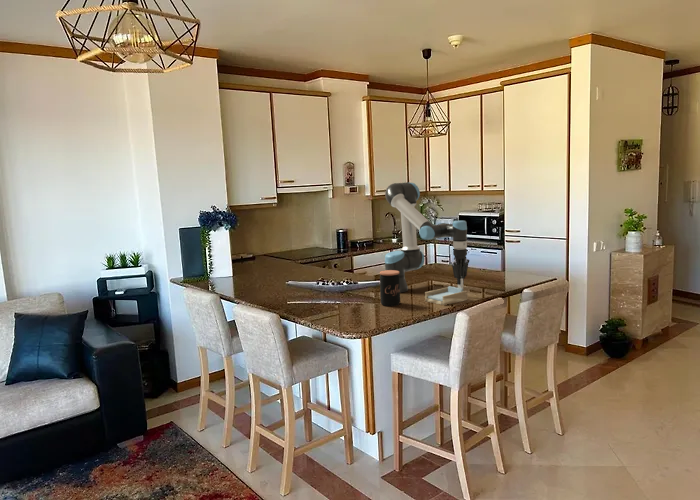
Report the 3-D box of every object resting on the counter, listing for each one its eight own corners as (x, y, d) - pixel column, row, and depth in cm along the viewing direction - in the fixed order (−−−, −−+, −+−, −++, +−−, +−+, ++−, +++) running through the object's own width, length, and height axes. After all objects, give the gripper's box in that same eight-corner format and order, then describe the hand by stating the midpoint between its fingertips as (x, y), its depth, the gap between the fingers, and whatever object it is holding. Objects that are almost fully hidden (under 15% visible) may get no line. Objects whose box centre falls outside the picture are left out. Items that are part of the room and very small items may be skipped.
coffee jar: (384, 307, 286) (383, 274, 283) (378, 303, 296) (377, 271, 293) (403, 305, 289) (402, 272, 286) (396, 301, 299) (395, 269, 296)
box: (425, 301, 296) (425, 292, 295) (448, 295, 306) (448, 287, 305) (444, 305, 284) (443, 296, 284) (467, 299, 295) (467, 291, 294)
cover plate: (427, 297, 295) (427, 290, 294) (449, 292, 304) (449, 285, 304) (442, 301, 285) (442, 294, 285) (464, 296, 295) (464, 289, 295)
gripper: (457, 250, 291) (457, 292, 295) (473, 247, 299) (473, 289, 302) (446, 249, 297) (447, 290, 301) (462, 246, 305) (463, 287, 308)
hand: (460, 289), depth 301 cm, fingers closed
